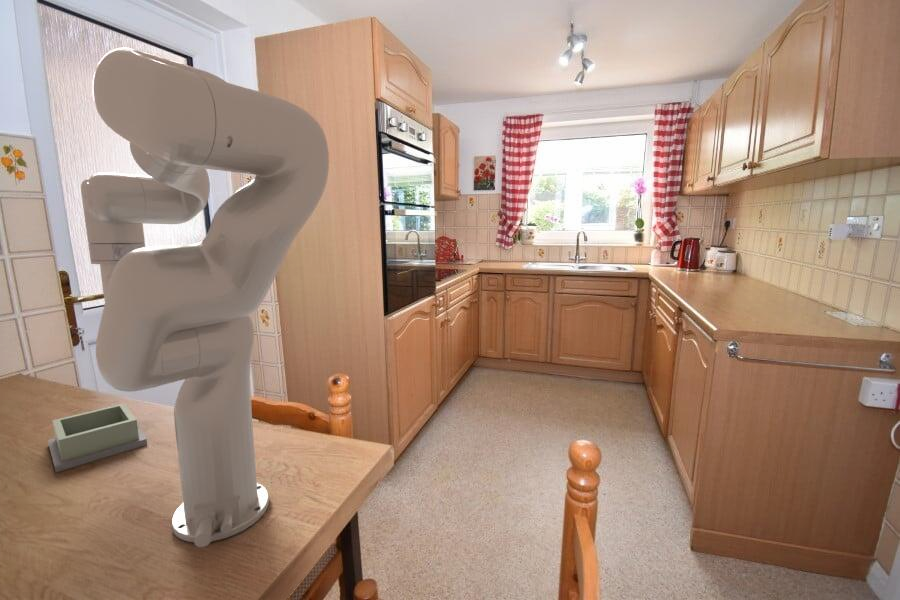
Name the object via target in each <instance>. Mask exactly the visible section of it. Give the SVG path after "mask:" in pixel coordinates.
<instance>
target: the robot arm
mask: <svg viewBox="0 0 900 600" xmlns="http://www.w3.org/2000/svg"><path fill="white" fill-rule="evenodd" d="M91 89H92V98H93V102H94V105H95V109H96V111H97V113H98V115H99V116H100V118H101V120H102V121H103V122H104V124H105V125H106V126H107V127H108V128H109V129H110V130H112V131H113V132H114V133H115V134H117V135H118V136H120V137H121V138H123V139H124V140H126V141H127V142H129V148H130V149H129V150H130V152H131V153H130V154H131V156H132V158H133V160H134V161H135V162H136V164H137V165H138V167H139V168H140V169H141V170H142V171H143V172H144V173H146V175H141V174H129V173H128V174H127V173H117V172H97V173H94V174H92V175H91V176H90V177H89V178H85V179H84V180H83V181H82V182H81V184H80V194H81V199H82V207H83V216H84V223H85V229H86V237H87V243H88V252H89V260H90V264H92V265H99V268H100V276H101V277H100V278H101V284H102V285H101V287H102V294H103V299H104V305H103V309H102V315H101V318H100V323H99V326H98V331H97V336H96V344H95V358H96V359H95V360H96V365H97V369H98V371H99V375H100V376H101V377H102V379H103V380H104V382H105V383H106V384H108V386H110V387H111V388H113V389H116V390H117V391H121V392H126V393H127V392H129V393H130V392H131V393H133V392H139V391H145V390H148V389H153V388H157V387H161V386H164V385H168V384H171V383H175V382H178V381H179V382H180V381H183V382H182V384H181V387H180V388H179V390H178V392H177V395H176V397H175V402H174V405H173V419H174V429H175V437H176V449H177V457H178V458H177V459H178V466H179V477H180V485H181V494H182V496H181V498H182V503H181V504H180V505H179V507H177V509H176V510H175V512H174V513H173V515H172V518H171V529H172V532H173V534H174V535H175V537H177V538H178V539H180V540H181V541H185V542H189V543H194V545H195V546H197V547H200V548H204V547H207V546H208V545H209V544H211V542H217V541H220V540H224V539H227V538H230V537H232V536H236V535H237V534H240V533H241V532H243V531H245V530H246V529H249V527H251V526H253V525H254V524H255V523H256V522H257V521H259V520H260V519H261V517H262V516H263V515H264V514H265V513H266V511H267V509H268V507H269V504H270V495H269V491H268V489H267V488H266V487H265V486H264V485H263V484H260V483H259V482H257V469H256V455H255V442H254V441H255V440H254V439H255V438H254V425H253V415H252V414H253V412H252V398H251V397H252V396H251V395H252V393H251V368H252V367H251V364H252V357H253V352H254V344H255V343H254V342H255V328H254V324H253V321H252V318H251V316H250V315H251V314H254V313H255V312H256V310H258V309H259V308H260V306H261V305H262V303H263V301H264V299H265V298H266V297H267V294H268V292H269V290H270V288H271V286H272V285H273V283H274V280H275V279H276V276H277V274H278V273H279V270H281V266H282V265H283V262H284V261H285V259H286V256H287V254H288V252H289V250H290V248H291V246H292V244H293V242H294V240H295V239H296V237H297V236H298V234H299V233H300V231H301V230H302V228H303V227H304V225H305V224H306V223H307V222H308V220H309V218H310V217H311V216H312V214H313V213H314V211H315V210H316V208H317V206H318V204H319V202H320V200H321V198H322V196H323V194H324V192H325V189H326V184H327V182H328V176H329V171H330V170H329V168H330V167H329V166H330V153H329V146H328V141H327V137H326V134H325V131H323V128H322V126H321V125H320V123H319V122H318V121H317V119H316V118H315V117H314V116H313V115H312V114H311V113H309V112H308V111H306V110H305V109H303V108H302V107H299V106H298V105H296V104H294V103H292V102H289V101H287V100H286V99H282V98H281V97H278V96H274V95H270V94H268V93H264V92H261V91H258V90H254V89H252V88H251V89H250V88H247V87H243V86H240V85H238V84H237V85H236V84H234V83H233V84H232V83H230V82H227V81H226V80H225V79H222V78H221V77H220V76H218V75H215V74H214V73H211V72H208V71H206V70H203V69H200V68H197V67H195V66H191V65H188V64H183V63H181V62H178V61H174V60H171V59H167V58H164V57H161V56H158V55H154V54H151V53H147V52H144V51H143V50H142V51H141V50H137V49H134V48H129V47H118V48H115V49H113V50H110V51H109V52H107V53H106V54H105V55H104V56H103V57H102V58H101V59H100V61H99V62H98V64H97V66H96V68H95V70H94V73H93V78H92V87H91ZM207 170H213V171H223V172H229V173H230V172H231V173H239V174H249V175H254V178H253V179H252V180H251V181H250V182H248V183H247V184H245V185H244V186H243V187H240V188H239V189H237V190H236V191H235V192H233V193H232V194H231V195H230V196H229V197H228V198H226V200H225V201H223V203H222V204H221V205H220V206H219V207H218V209H217V210H216V212H215V213H214V215H213V217H212V220H211V223H210V226H209V229H208V231H207V234H206V235H205V236H204V238H203V240H201V241H200V242H197V243H196V242H195V243H193V244H192V243H191V244H181V245H180V244H178V245H177V244H175V245H153V246H152V245H151V246H146V243H145V242H146V241H145V231H144V225H145V224H147V225H148V224H151V225H152V224H153V225H154V224H155V225H180V224H183V223H187V222H189V221H192V220H193V219H194V218H195V217H196V216H197V215H199V214H200V213H201V212H202V211H203V210H204V209H205V208H206V206H207V204H208V202H209V197H210V191H211V189H210V188H211V185H210V183H211V182H210V177H209V173H208V171H207Z"/></svg>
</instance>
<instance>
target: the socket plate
mask: <svg viewBox="0 0 900 600" xmlns="http://www.w3.org/2000/svg"><path fill="white" fill-rule="evenodd" d="M52 426H53V431H54V438H49V439H47V443H48V447H49V451H50V456H51V459H52V463H53V467H54V471H55V473H59V472H62V471H65V470H68V469H72V468H76V467H78V466H82V465H85V464H88V463H91V462H95V461H98V460H101V459H105V458H109V457H112V456H115V455H118V454H122V453H125V452H128V451H131V450H135V449H137V448H138V449H139V448H140V447H144V446H147V445H148V440H147V437H146V436H145V435H144V433H143V432H142V431H141V429H140V428H139V426H138V419H137V418H136V417H135V415H134V414H133V413H132V411H131V410H130V409H129V407H128V406H127V405H126V403H125V402H124V403H119V404H116V405H115V404H114V405H111V406H108V407H103V408H98V409H95V410H89V411H85V412H81V413H78V414H73V415H70V416H65V417H60V418H57V419H52Z"/></svg>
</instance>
